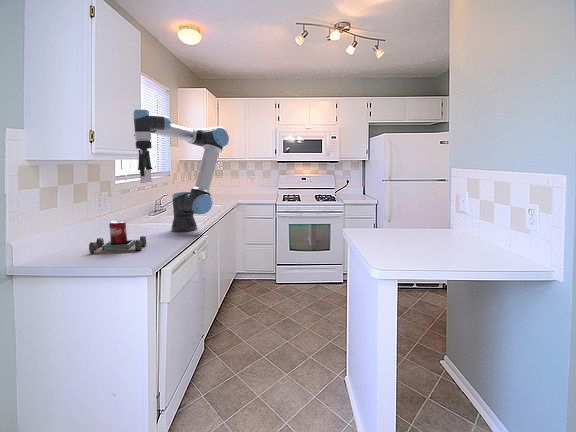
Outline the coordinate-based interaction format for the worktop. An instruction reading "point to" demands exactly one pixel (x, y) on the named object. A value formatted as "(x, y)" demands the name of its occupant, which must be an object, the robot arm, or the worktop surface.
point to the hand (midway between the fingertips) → (146, 182)
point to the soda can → (118, 233)
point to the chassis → (116, 246)
